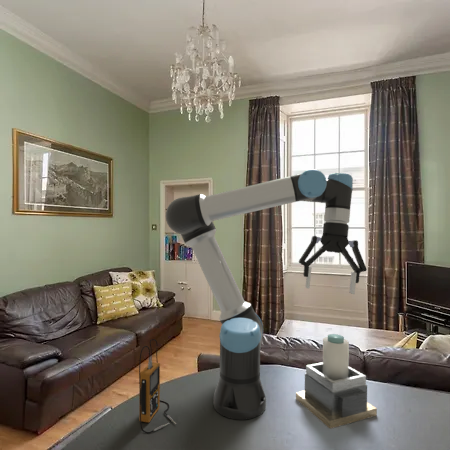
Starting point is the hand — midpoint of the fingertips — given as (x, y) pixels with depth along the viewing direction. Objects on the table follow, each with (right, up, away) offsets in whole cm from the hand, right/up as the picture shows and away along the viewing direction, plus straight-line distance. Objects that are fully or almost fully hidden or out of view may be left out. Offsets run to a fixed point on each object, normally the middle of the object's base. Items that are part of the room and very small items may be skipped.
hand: (329, 290), depth 100 cm
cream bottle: (-1, -24, -8) cm, 25 cm away
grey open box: (-1, -32, -8) cm, 33 cm away
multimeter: (-50, -32, -13) cm, 60 cm away
